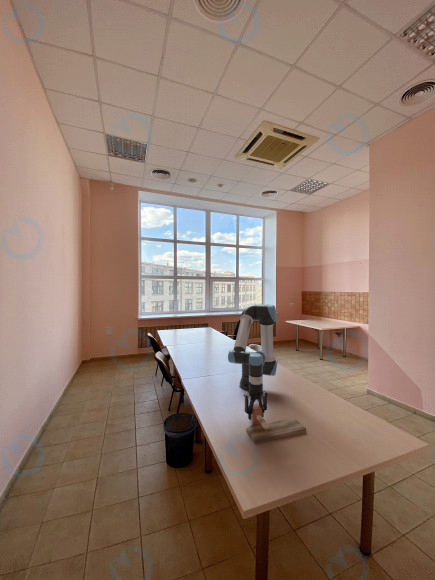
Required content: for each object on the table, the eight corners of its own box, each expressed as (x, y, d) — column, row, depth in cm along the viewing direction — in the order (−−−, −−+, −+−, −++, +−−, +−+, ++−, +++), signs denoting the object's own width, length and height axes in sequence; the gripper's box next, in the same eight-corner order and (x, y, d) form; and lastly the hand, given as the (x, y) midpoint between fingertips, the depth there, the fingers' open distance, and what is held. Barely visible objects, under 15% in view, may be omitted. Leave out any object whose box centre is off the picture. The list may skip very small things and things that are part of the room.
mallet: (249, 422, 130) (249, 405, 130) (257, 420, 132) (257, 403, 131) (262, 439, 116) (262, 420, 115) (271, 437, 117) (271, 418, 117)
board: (246, 431, 124) (246, 427, 124) (294, 421, 132) (294, 417, 132) (254, 443, 114) (254, 439, 114) (306, 432, 123) (306, 428, 123)
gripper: (243, 387, 122) (243, 431, 122) (273, 383, 127) (273, 424, 127) (238, 381, 129) (238, 422, 129) (267, 377, 134) (267, 417, 135)
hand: (255, 423), depth 128 cm, fingers closed on mallet, 5 cm apart
